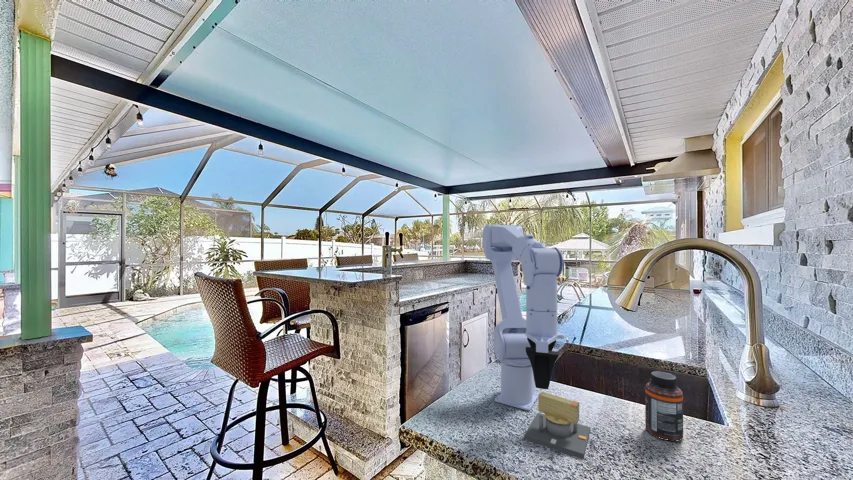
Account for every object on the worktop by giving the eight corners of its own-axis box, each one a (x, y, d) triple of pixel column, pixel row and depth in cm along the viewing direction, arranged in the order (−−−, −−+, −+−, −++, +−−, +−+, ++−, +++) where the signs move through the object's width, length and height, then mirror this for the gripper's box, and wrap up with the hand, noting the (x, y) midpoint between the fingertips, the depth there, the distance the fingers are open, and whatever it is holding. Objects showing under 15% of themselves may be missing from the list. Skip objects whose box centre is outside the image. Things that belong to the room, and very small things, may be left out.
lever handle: (535, 417, 63) (535, 396, 63) (544, 408, 67) (544, 388, 67) (573, 430, 58) (573, 408, 58) (581, 420, 62) (581, 399, 62)
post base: (537, 416, 69) (537, 400, 69) (590, 431, 64) (590, 413, 64) (524, 439, 61) (524, 420, 61) (583, 458, 56) (583, 438, 56)
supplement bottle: (647, 422, 68) (647, 366, 68) (683, 432, 64) (683, 374, 64) (643, 434, 63) (643, 375, 63) (682, 447, 59) (682, 383, 60)
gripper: (566, 317, 56) (567, 399, 55) (561, 305, 70) (561, 370, 69) (523, 314, 58) (523, 392, 58) (526, 303, 72) (526, 366, 71)
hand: (541, 380), depth 64 cm, fingers open, 7 cm apart
